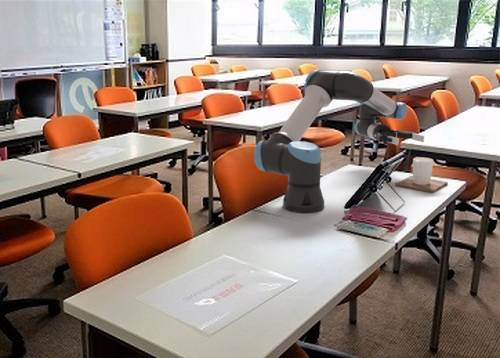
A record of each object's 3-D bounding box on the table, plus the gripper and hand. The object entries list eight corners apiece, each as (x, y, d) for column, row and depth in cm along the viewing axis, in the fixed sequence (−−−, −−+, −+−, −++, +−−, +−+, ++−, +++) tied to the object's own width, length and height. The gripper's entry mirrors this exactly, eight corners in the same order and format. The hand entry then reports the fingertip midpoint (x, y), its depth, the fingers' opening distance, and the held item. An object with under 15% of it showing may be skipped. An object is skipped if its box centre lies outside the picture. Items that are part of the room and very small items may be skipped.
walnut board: (432, 193, 203) (432, 190, 202) (394, 185, 213) (395, 183, 213) (447, 184, 214) (447, 182, 214) (411, 177, 224) (411, 175, 224)
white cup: (431, 186, 208) (433, 162, 206) (411, 184, 211) (412, 161, 208) (431, 181, 216) (433, 158, 213) (411, 179, 218) (413, 156, 215)
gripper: (400, 137, 241) (432, 146, 222) (356, 142, 232) (386, 151, 213) (401, 122, 239) (434, 129, 220) (357, 126, 230) (387, 134, 211)
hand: (410, 140), depth 217 cm, fingers open, 13 cm apart
